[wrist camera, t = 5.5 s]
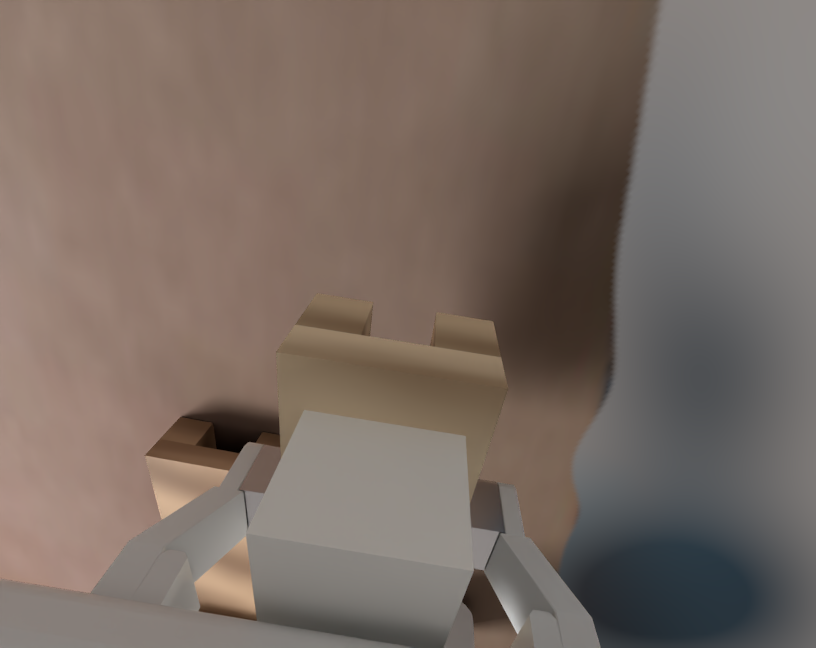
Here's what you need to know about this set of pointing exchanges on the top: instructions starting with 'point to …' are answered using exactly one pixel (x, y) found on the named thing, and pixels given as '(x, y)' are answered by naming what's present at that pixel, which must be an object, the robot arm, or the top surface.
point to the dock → (188, 479)
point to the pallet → (393, 375)
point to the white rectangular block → (364, 532)
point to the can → (461, 630)
